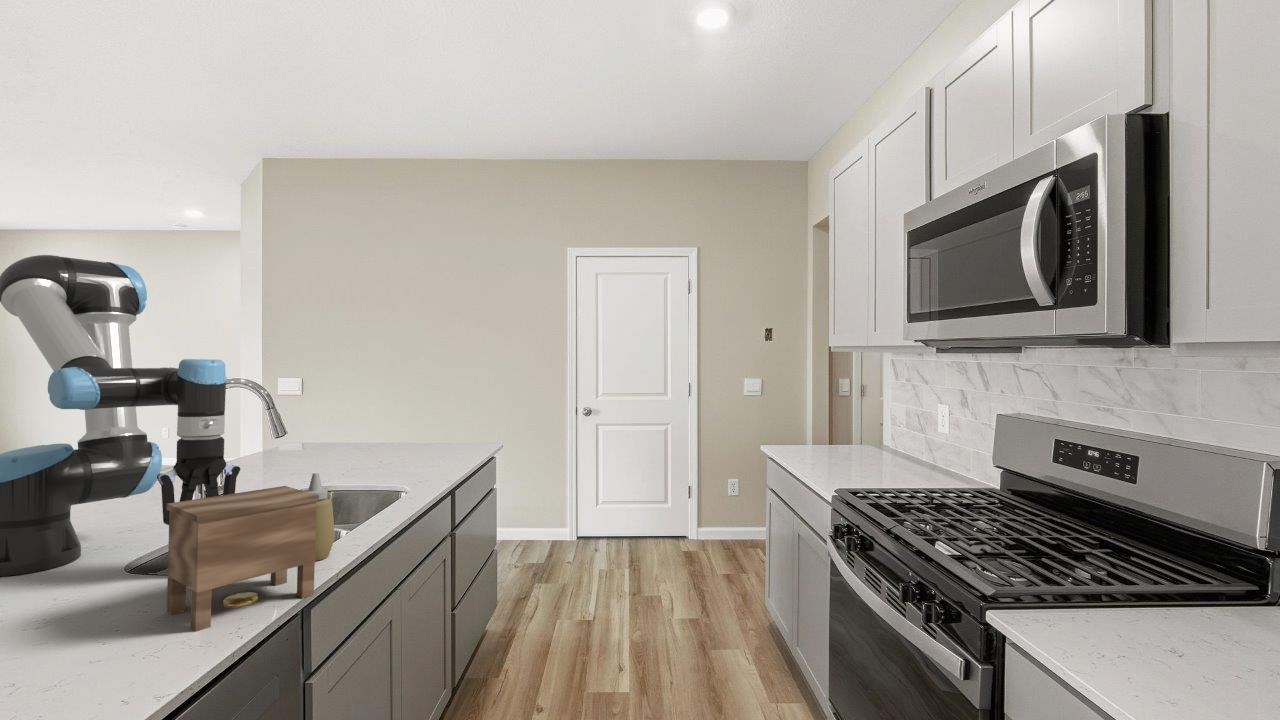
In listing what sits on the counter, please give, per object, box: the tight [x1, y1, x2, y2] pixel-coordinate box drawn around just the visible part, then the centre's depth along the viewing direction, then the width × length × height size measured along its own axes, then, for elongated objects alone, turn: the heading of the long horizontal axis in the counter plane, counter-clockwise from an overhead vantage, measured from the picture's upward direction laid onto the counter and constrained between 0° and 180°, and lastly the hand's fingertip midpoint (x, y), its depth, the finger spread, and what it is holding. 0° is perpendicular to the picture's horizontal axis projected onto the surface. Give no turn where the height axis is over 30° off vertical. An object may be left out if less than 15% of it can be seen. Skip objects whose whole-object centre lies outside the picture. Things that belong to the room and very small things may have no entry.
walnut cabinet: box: [166, 485, 319, 632], centre depth 102 cm, size 13×19×18 cm
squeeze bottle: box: [304, 472, 336, 562], centre depth 126 cm, size 8×8×18 cm
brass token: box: [222, 591, 259, 609], centre depth 103 cm, size 5×5×1 cm
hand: (198, 556), depth 116 cm, fingers closed on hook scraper, 3 cm apart
